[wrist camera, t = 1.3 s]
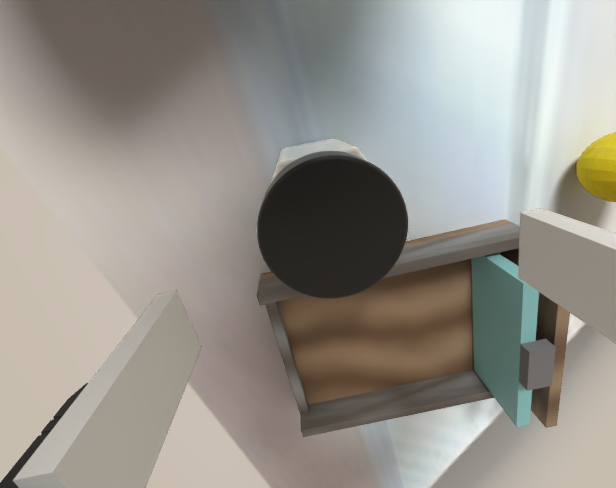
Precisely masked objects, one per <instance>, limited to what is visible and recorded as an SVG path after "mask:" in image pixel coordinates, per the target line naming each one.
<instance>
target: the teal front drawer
mask: <svg viewBox="0 0 616 488" xmlns="http://www.w3.org/2000/svg"><path fill="white" fill-rule="evenodd" d="M519 237H520V226H518V225H516V224H514V223H511V222H509V221H507V220H501V221H496V222H492V223H487V224H483V225H478V226H474V227H470V228H465V229H461V230H456V231H452V232H447V233H443V234H438V235H434V236H429V237H425V238H420V239H416V240H412V241H407V242H405V245H404V248H403V250H402V253H401V255H400V257H399V259H398V260H397V262H396V263H395V265H394V266H393V268H392V269H391V270H390V271H389V272H388V273H387V274H386V276H384V277H383V278H382V279H381V280H380V281H379V282H377V283H376V284H375V285H373V286H371V287H370V288H368V289H366V290H364V291H362V292H360V293H357V294H354V295H351V296H347V297H342V298H333V299H324V298H316V297H311V296H307V295H304V294H301V293H299V292H297V291H295V290H293V289H291V288H289V287H288V286H286V285H285V284H284V283H282V282H281V281H280V280H279V279H278V278H277V277H276V276H275V275H274V274H273V273H272V272H269V273H264V274H261V276H260V281H259V286H258V292H257V298H258V301H259V304H260V305H264V304H265V305H266V308H267V311H268V314H269V317H270V320H271V324H272V327H273V330H274V333H275V336H276V339H277V342H278V345H279V349H280V352H281V355H282V358H283V361H284V364H285V367H286V370H287V374H288V377H289V380H290V383H291V386H292V389H293V392H294V395H295V399H296V402H297V405H298V408H299V411H300V414H301V432H302V435H303V437H306V436H311V435H316V434H320V433H325V432H330V431H335V430H340V429H345V428H349V427H354V426H359V425H364V424H369V423H373V422H378V421H383V420H388V419H393V418H398V417H402V416H407V415H412V414H417V413H422V412H427V411H431V410H436V409H441V408H446V407H451V406H455V405H460V404H465V403H470V402H475V401H480V400H484V399H489V398H494V396H493V395H492V393H491V392H490V391H489V389H488V388H487V386H486V385H485V384H484V382H483V381H482V380H481V378H480V377H479V376H478V374H477V373H476V372H475V370H474V349H473V306H472V263H471V259H472V258H476V257H481V256H485V255H490V254H494V253H498V254H500V255H501V256H503V257H505V258H506V259H508V260H509V261H511V262H513V263H514V264H516V265H517V266H519ZM569 316H570V312H568V311H567V310H565V309H564V308H562V307H561V306H559V305H558V304H556V303H555V302H553V301H552V300H550V299H549V298H547V297H546V296H544V295H543V294H542V293H540V292H539V300H538V314H537V328H536V341H537V340H542V339H547V340H548V341H549V342H550V343H551V344H553V345H554V346H555V347H556V349H555V359H554V369H553V379H552V386H548V387H543V388H539V389H534V390H532V399H531V411H532V412H533V413H534V414H535V415H536V416H537V418H538V419H539V420H540V421H541V422H542V423H543V424H544V426H545V427H546V428H547V427H552V426H556V425H557V417H558V410H559V401H560V393H561V384H562V376H563V367H564V359H565V349H566V342H567V333H568V325H569Z"/></svg>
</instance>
